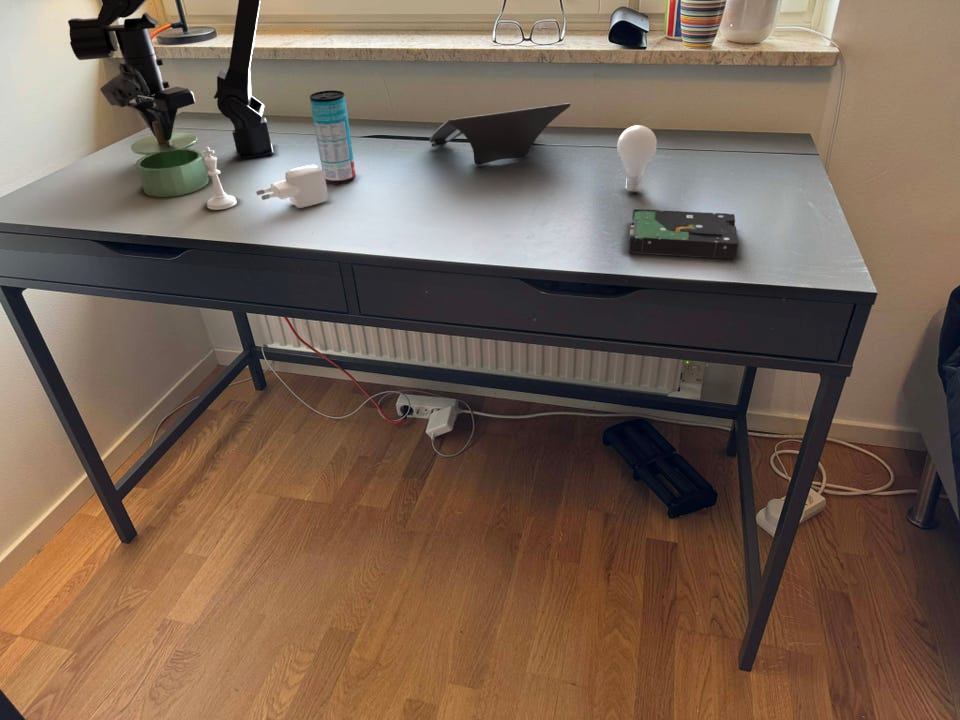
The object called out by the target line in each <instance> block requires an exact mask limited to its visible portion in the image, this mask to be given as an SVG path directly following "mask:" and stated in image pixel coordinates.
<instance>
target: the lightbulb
mask: <svg viewBox="0 0 960 720" xmlns="http://www.w3.org/2000/svg"><path fill="white" fill-rule="evenodd" d="M657 150H658V140H657V137H656V134H655V133H654V132H653V130H652V129H651V128H649V127H648V126H646V125H642V124H641V125H639V124H637V125H632V126H629V127H628V128H626V129H624V131H623V132H622V133H621V134H620V136H619V137H618V140H617V144H616V151H617V154H618V157H619V158H620V160H621V162H622V163H623V166H624V172H625V177H626V179H625V190H627V191H628V192H630V193H637V192H639V191H641V190H642V189H643V188H642V187H643V177H644V174H645V172H646V169H647V166H648V164H649V163H650V162H651V160H652V159H653V158H654V157H655V155H656V152H657Z"/></svg>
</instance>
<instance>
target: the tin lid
mask: <svg viewBox="0 0 960 720" xmlns="http://www.w3.org/2000/svg"><path fill="white" fill-rule="evenodd" d="M152 125H153V128H154V132H155V135H156V137H155V136H154V134H152V135H150V136H147V137H144V138H141V139H138V140H137V141H135V142H134V143H132V144H131V146H130V150H131V151H132V152H133V153H134V154H137V155H141V156H143V155H144V156H147V155H149V154H152V153H155V152H159V151H164V150H169V149H190V148H191V147H193V146H194V145H196V144H197V142H198V136H197V135H195V134H194V133H190V132H181V131H180V132H179V131H176V132H172V136H171V140H169V141H165V139H164V137H163V135H162V132H161V130H160V127H159V125H158V122H157V120H156V121H153V122H152Z"/></svg>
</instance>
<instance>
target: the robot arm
mask: <svg viewBox="0 0 960 720" xmlns="http://www.w3.org/2000/svg"><path fill="white" fill-rule="evenodd" d="M147 1H148V0H101V4H102V5H101V8H100V11H99V13H98V14H97V17H96V18H95V17H92V18H77V17H76V18H75V17H74V18H70V19H68V21H67V23H68V26H69V39H70V41H69V44H70V48H71V50H72V53H73V54H74V56H75V58H77V60H79V61H88V60H98V59H112V58H114V56H115V52H118V50H120V54H121V56H122V60H123V61H122V62H119V65H118V68H119V71H120V73H119V74H118V75H116V76H114V77H112V78H111V79H110V80H108V82H106V83H104V84H103V85H102V86H101V87H100V88H99V90H100V92H101V94H102V95H103V96H104V98H105V100H107V102H108V103H109V104H110V106H118V107H119V108H124V107H128V108H130V109H132V110H134V111H136V112H137V113H138V114H140V116H141V118H142V119H143V120H144V122H145V123H146V125H147V127H148V128H149V130H150V132H151V133H152V135H154V136H155V137H156V135H155V132H154V128H153V125H152V122H153V121H156V120H157V122H158V125H159V127H160V130H161V132H162V135H163V137H164V139H165V141H169V140H171V136H172V133H173V130H174V125H175V120H176V116H177V113H178V110H179V109H181V108H184V107H188V106H192V105H194V104H196V99H195V95H194V92H193V91H192V90H190V89H189V88H188V87H187V88H186V87H180V86H173V87H170V84H169V81H165V80H164V79H163V77H162V73H161V69H160V66H164V62H163V59H162V58H158V57H157V55H156V51H155V48H154V44H153V40H152V36H151V33H150V29H155V28H156V27H158V26H159V25H160V22H159V20H157V19H155V18H153V17H152V16H151V15H150V14H149V13H148V12H146V11H145V12H143V13H142V15H141V17H133V18H128V17H130V16H132V15H133V14H134V13H136V12H137V11H138V10H139V9H140V8H141V7H142V6H143V5H144V4H145V3H146V2H147ZM260 6H261V0H238V3H237V8H236V10H237V11H236V17H235V22H234V29H233V30H234V31H233V37H232V45H231V50H230V58H229V65H228V68H227V71H225V70H223V69H220V70H219V72H218V75H216V91H215V93H214V96H213V99H214V100H215V99H217V100H216V102H217V103H216V105H217V109H218V110H219V111H220V113H221V115H223V116H224V117H225V118H227V119H229V120H230V122H231V123H232V125H233V128H234V129H232V138H233V141H234V146H235V149H236V154H238V155H239V158H240V159H241V160H243V159H251V158H258V157H260V158H261V157H267V156H274V149H273V143H272V142H271V138H270V132H269V128H268V123H267V119H266V117H263V116H264V111H265V104H264V103H262V102H261V101H260V100H258V99H257V98H256V97H254V96H253V95H252V80H251V79H252V78H251V64H252V57H253V56H252V55H253V51H254V45H255V40H256V39H255V38H256V31H257V27H258V19H259V15H260V14H259V13H260V8H261V7H260ZM120 18H122V19H124V21H123V24H114V25H112V24H113V23H115V22H116V21H118V20H119V19H120Z"/></svg>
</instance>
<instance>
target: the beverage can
mask: <svg viewBox="0 0 960 720" xmlns="http://www.w3.org/2000/svg"><path fill="white" fill-rule="evenodd" d="M309 100H310V101H309V102H310V108H311V114H312V119H313V126H314V132H315V137H316V142H317V149H318V156H319V160H320V165H321V166H320V167H321V169H322V171H323V172H324V176H325V182H326V183H329V184H332V185H341V184H347V183H349V182H351V181H353V180H354V179H355V178H356V173H357V172H356V165H355V160H354V152H353V145H352V137H351V131H350V124H349V116H348V110H347V109H348V108H347V104H346V98H345V93H344V91H342V90H322V91H317V92H314V93H312V94H310V95H309Z"/></svg>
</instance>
